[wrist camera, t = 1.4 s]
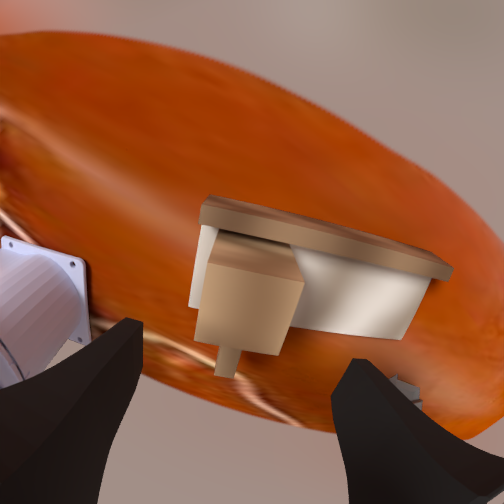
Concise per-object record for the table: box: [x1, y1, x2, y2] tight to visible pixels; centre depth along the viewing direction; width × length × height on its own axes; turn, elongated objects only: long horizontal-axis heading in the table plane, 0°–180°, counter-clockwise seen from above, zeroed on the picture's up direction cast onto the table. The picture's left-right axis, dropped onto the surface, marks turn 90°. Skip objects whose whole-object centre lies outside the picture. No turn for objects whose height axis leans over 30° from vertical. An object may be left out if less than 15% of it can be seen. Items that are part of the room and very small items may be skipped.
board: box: [188, 195, 454, 340], centre depth 17 cm, size 16×7×3 cm, turn 77°
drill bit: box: [389, 374, 423, 411], centre depth 20 cm, size 5×5×10 cm
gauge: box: [194, 228, 305, 379], centre depth 15 cm, size 4×8×5 cm, turn 167°
